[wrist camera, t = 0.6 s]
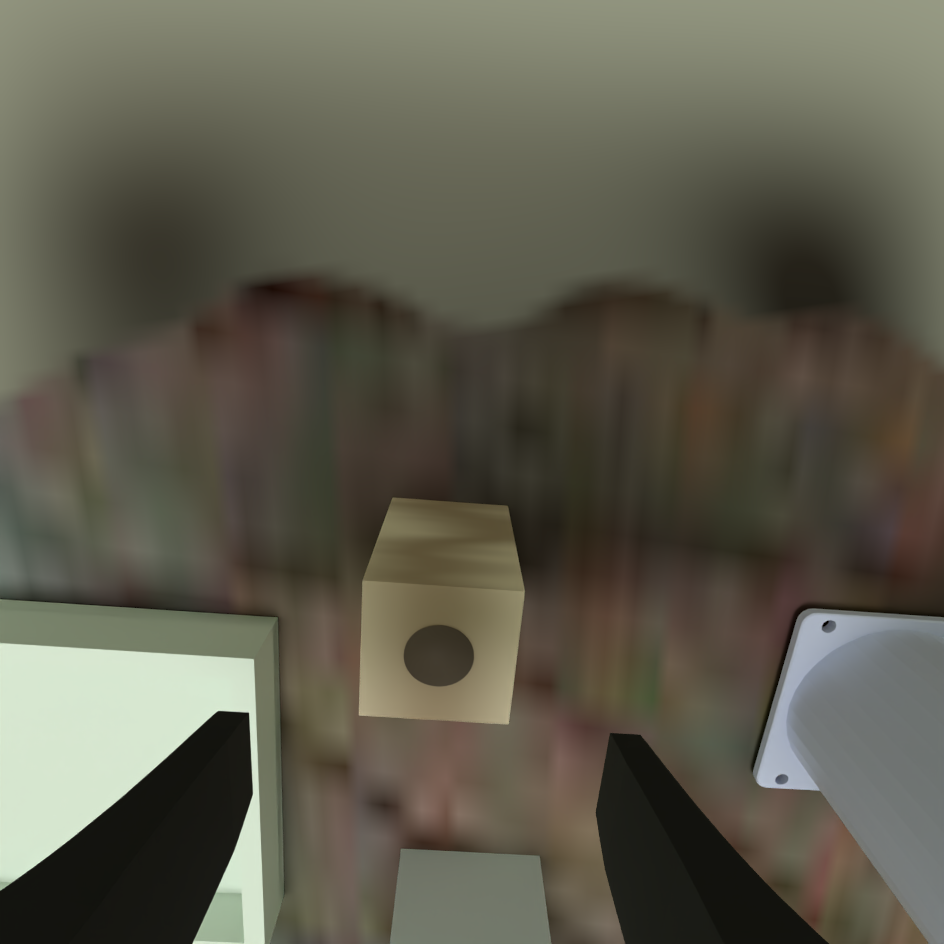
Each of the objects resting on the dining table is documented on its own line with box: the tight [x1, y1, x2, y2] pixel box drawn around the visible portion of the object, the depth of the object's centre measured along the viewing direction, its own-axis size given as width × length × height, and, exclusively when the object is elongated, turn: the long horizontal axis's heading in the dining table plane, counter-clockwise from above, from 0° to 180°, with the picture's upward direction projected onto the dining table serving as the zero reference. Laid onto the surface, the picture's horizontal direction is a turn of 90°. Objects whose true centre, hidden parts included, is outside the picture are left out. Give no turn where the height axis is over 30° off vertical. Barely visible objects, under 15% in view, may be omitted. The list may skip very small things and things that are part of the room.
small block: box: [359, 497, 525, 724], centre depth 17 cm, size 4×4×6 cm
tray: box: [0, 599, 284, 944], centre depth 22 cm, size 16×14×2 cm
